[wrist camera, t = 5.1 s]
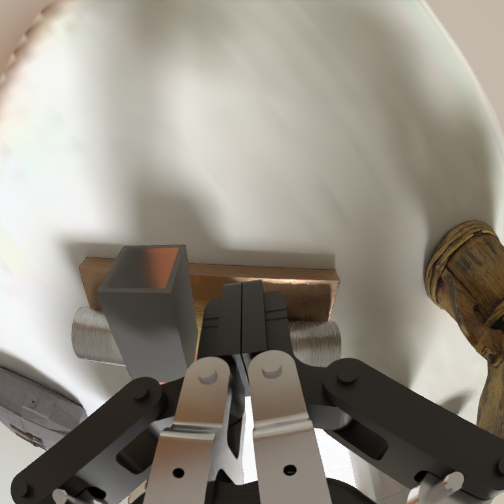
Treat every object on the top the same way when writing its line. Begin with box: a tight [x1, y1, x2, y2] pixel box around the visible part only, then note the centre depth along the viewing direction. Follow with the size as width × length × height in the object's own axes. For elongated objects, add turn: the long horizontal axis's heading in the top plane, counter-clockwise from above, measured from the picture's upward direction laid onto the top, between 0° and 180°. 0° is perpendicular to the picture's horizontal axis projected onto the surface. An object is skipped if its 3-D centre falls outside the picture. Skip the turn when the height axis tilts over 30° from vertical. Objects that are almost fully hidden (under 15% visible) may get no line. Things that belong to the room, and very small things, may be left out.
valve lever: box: [96, 245, 198, 385], centre depth 13 cm, size 14×3×3 cm, turn 0°
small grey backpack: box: [0, 367, 88, 451], centre depth 31 cm, size 15×8×20 cm
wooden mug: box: [425, 221, 504, 440], centre depth 16 cm, size 9×14×18 cm, turn 79°
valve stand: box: [72, 257, 341, 367], centre depth 21 cm, size 20×10×10 cm, turn 86°
